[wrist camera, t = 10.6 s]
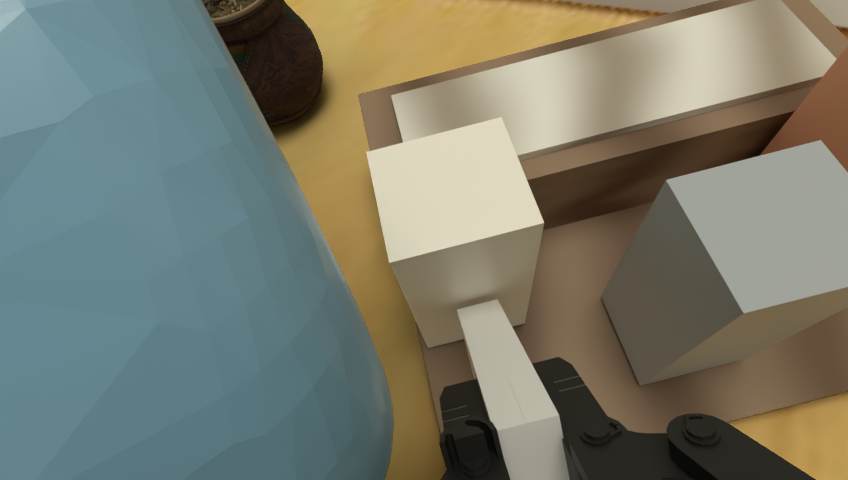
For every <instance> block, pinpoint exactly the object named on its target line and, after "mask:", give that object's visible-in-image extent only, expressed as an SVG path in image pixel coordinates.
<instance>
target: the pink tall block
mask: <svg viewBox="0 0 848 480" xmlns="http://www.w3.org/2000/svg"><path fill="white" fill-rule="evenodd" d="M819 140H821V141H822V142H823V143H824V144H825V146H826V147H827V148H828V149H829V150H830V152H831V153H832V154H833V155H834V157H835V158H836V159H837V160H838V161H839V163H840V164H841V165H842V166H843V168H844V169H845V170H846V171H847V172H848V46H847V47H846V48H845V49H844V51H843V52H842V53H841V54H840V56H839V57H838V58H837V59H836V61H835V62H834V63H833V64H832V66H831V67H830V68H829V69H828V71H827V72H826V73H825V74H824V76H823V77H822V78H821V79H820V81H819V82H818V83H817V84H816V86H815V87H814V88H813V89H812V91H811V92H810V93H809V94H808V96H807V97H806V98H805V99H804V101H803V102H802V103H801V104H800V106H799V107H798V108H797V109H796V111H795V112H794V113H793V114H792V116H791V117H790V118H789V119H788V121H787V122H786V123H785V124H784V126H783V127H782V128H781V129H780V131H779V132H778V133H777V134H776V136H775V137H774V138H773V139H772V141H771V142H770V143H769V144H768V146H767V147H766V148H765V149H764V151H763V152H762V153H761V154H760V155H759V156H761V155H765V154H768V153H772V152H776V151H780V150H784V149H788V148H792V147H796V146H799V145H803V144H807V143H811V142H815V141H819Z"/></svg>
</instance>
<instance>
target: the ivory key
mask: <svg viewBox="0 0 848 480" xmlns="http://www.w3.org/2000/svg"><path fill="white" fill-rule="evenodd" d="M366 153H367V158H368V163H369V168H370V172H371V177H372V182H373V187H374V192H375V197H376V202H377V206H378V211H379V216H380V221H381V226H382V231H383V236H384V240H385V245H386V250H387V255H388V260H389V264H390V266H391V268H392V270H393V272H394V275H395V277H396V279H397V281H398V283H399V286H400V288H401V290H402V292H403V294H404V297H405V299H406V301H407V303H408V305H409V307H410V310H411V312H412V314H413V316H414V318H415V321H416V323H417V325H418V327H419V329H420V332H421V334H422V336H423V338H424V340H425V342H426V345H427V347H428V348H431V347H435V346H438V345H442V344H446V343H450V342H454V341H458V340H462V339H464V336H463V332H462V328H461V324H460V320H459V316H458V312H457V309H461V308H465V307H469V306H473V305H477V304H481V303H484V302H488V301H492V300H496V299H498V301H499V303H500V305H501V307H502V309H503V311H504V313H505V314H506V316H507V318H508V320H509V322H510V324H511V326H512V327H513V326H517V325H521V324H524V323H525V319H526V314H527V309H528V304H529V299H530V294H531V288H532V283H533V278H534V273H535V268H536V263H537V258H538V253H539V247H540V242H541V237H542V232H543V227H544V221H543V218H542V216H541V214H540V211H539V209H538V206H537V204H536V201H535V199H534V196H533V194H532V191H531V189H530V186H529V184H528V181H527V179H526V176H525V174H524V171H523V169H522V166H521V164H520V162H519V159H518V157H517V154H516V152H515V149H514V147H513V144H512V142H511V139H510V137H509V134H508V132H507V129H506V127H505V124H504V122H503V119H502V117H499V118H495V119H492V120H488V121H484V122H480V123H476V124H472V125H468V126H465V127H461V128H457V129H453V130H449V131H445V132H442V133H438V134H434V135H430V136H426V137H422V138H418V139H415V140H411V141H407V142H403V143H399V144H395V145H392V146H388V147H384V148H380V149H376V150H372V151H368V152H366Z"/></svg>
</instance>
